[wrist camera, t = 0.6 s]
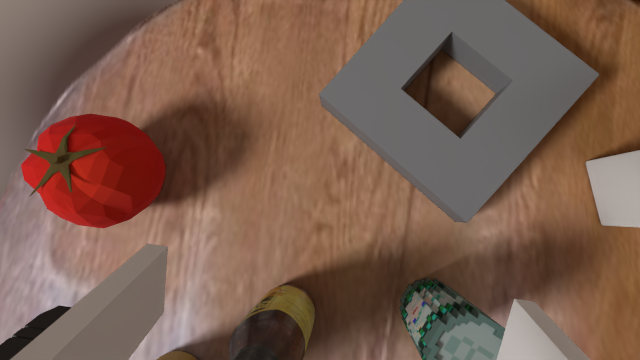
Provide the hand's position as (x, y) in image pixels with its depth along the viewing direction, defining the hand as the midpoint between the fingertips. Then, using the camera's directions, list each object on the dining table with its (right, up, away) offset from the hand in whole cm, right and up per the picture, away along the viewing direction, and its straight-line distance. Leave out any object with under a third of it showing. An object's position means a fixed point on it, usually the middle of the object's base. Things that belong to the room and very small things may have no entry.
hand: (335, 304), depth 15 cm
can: (+11, -9, +29) cm, 32 cm away
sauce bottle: (-4, -10, +30) cm, 32 cm away
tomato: (-23, +5, +32) cm, 40 cm away
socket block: (+14, +14, +30) cm, 36 cm away
